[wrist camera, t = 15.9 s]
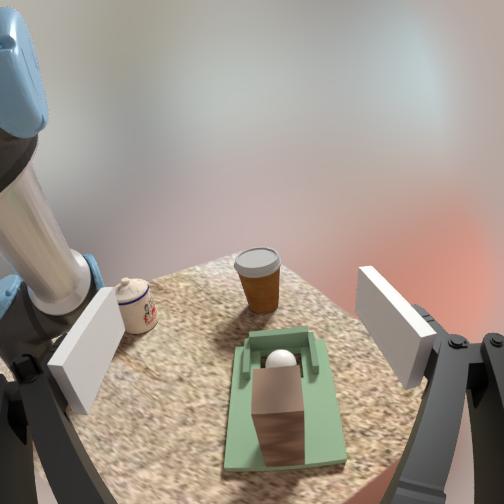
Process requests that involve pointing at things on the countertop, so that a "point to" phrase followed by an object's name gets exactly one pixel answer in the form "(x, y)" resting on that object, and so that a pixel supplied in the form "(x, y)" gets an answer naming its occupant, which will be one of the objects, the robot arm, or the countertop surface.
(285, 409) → the walnut block
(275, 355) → the ball
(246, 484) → the countertop surface
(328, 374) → the pad
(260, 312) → the disposable coffee cup
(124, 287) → the teacup with lid
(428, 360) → the robot arm
